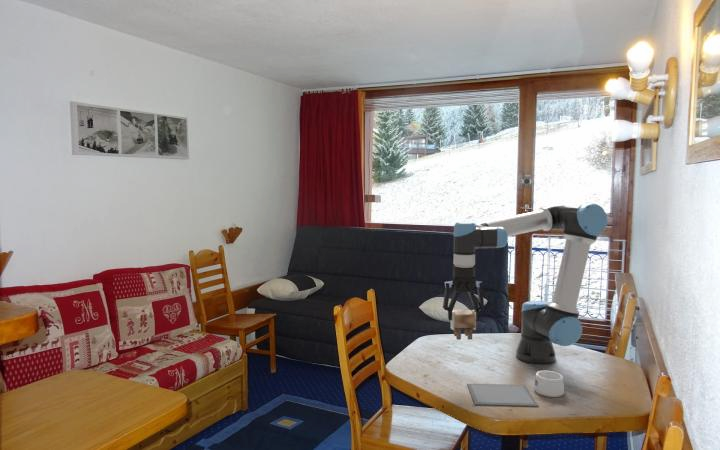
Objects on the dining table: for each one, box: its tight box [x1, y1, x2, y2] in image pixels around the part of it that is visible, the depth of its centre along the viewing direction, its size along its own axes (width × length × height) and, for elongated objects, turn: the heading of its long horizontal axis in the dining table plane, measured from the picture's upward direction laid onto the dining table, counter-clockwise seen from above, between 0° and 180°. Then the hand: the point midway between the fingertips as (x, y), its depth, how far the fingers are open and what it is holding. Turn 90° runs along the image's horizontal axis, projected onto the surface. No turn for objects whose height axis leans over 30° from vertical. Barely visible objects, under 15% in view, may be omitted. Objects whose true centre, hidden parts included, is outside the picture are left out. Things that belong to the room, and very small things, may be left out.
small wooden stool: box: [453, 309, 477, 341], centre depth 178 cm, size 7×7×9 cm
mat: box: [466, 383, 539, 408], centre depth 167 cm, size 20×16×1 cm
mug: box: [533, 370, 565, 398], centre depth 171 cm, size 12×10×6 cm
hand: (463, 328), depth 178 cm, fingers closed on small wooden stool, 7 cm apart
